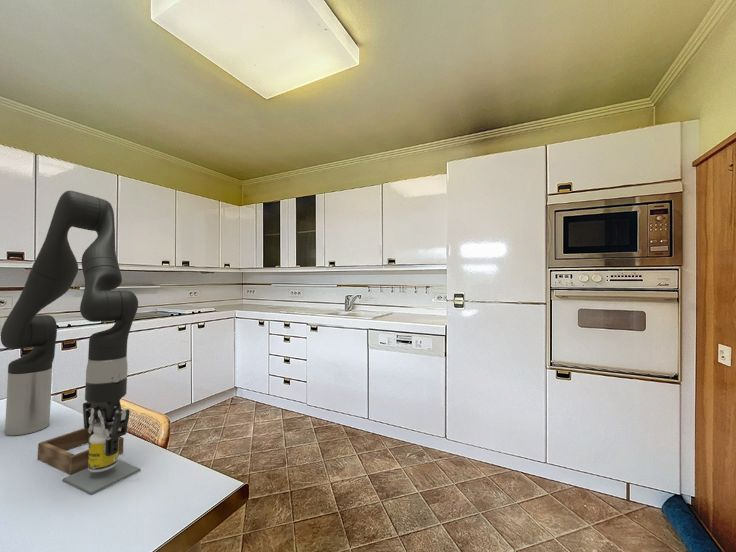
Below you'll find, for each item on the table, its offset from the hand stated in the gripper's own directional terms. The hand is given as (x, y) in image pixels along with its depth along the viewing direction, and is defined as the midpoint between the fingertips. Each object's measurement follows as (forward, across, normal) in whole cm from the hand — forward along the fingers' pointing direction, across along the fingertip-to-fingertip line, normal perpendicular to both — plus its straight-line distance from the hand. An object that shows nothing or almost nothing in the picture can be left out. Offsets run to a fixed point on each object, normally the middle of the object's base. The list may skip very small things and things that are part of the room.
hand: (103, 451), depth 76 cm
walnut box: (+6, -14, +2) cm, 15 cm away
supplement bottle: (+4, 0, 0) cm, 4 cm away
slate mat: (+6, 0, 0) cm, 6 cm away
